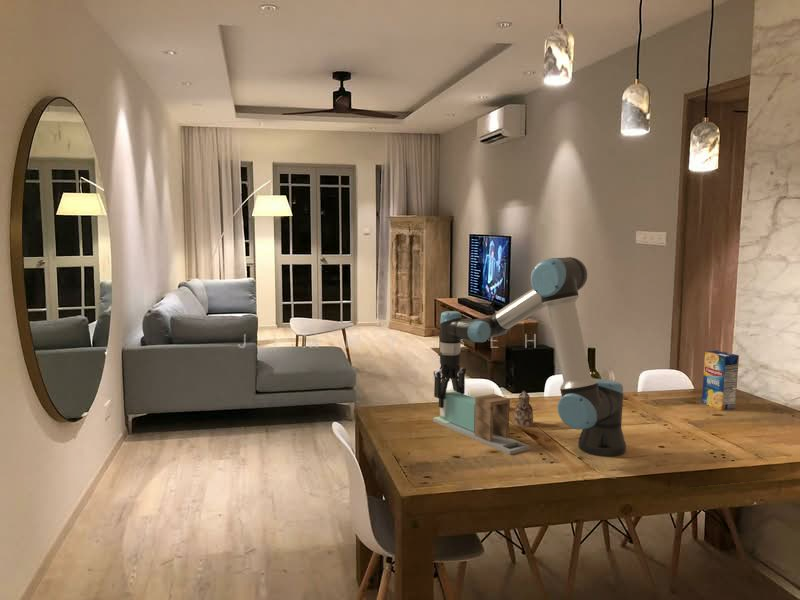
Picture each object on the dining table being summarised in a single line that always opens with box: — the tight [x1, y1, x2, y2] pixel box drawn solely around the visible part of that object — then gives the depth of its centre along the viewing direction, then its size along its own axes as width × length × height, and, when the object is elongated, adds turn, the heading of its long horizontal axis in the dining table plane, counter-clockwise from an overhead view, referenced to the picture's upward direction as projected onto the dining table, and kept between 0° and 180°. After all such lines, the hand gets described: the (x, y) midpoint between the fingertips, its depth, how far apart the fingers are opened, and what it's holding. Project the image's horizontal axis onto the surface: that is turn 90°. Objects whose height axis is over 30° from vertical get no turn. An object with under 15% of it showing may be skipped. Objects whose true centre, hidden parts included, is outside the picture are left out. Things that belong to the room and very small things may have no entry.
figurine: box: [513, 390, 534, 428], centre depth 246 cm, size 7×7×12 cm
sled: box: [439, 389, 475, 432], centre depth 241 cm, size 20×5×10 cm, turn 33°
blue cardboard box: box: [701, 349, 740, 411], centre depth 271 cm, size 7×11×22 cm, turn 18°
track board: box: [432, 415, 531, 456], centre depth 234 cm, size 42×9×1 cm, turn 33°
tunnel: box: [475, 393, 511, 442], centre depth 227 cm, size 8×8×14 cm
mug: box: [467, 387, 495, 398], centre depth 269 cm, size 12×10×8 cm
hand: (449, 414), depth 248 cm, fingers closed on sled, 5 cm apart
